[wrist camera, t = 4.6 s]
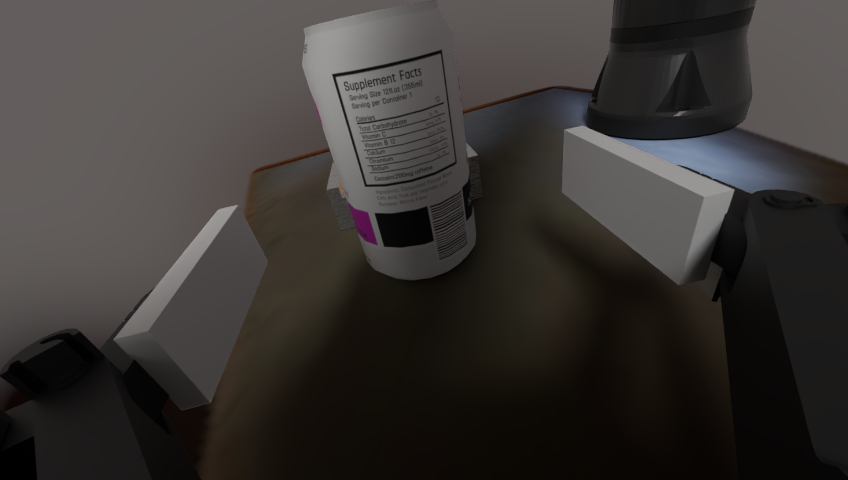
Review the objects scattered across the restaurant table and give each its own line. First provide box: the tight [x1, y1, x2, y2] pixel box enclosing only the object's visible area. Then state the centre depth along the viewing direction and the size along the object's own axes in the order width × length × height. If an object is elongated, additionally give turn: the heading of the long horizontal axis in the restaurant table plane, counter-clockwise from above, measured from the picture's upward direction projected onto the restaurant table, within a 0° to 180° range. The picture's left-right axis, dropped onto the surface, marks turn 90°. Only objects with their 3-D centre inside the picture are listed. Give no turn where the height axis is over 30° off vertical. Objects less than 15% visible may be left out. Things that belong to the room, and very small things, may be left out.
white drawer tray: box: [327, 143, 482, 231], centre depth 38 cm, size 22×13×8 cm, turn 9°
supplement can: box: [302, 0, 476, 280], centre depth 22 cm, size 8×8×15 cm
